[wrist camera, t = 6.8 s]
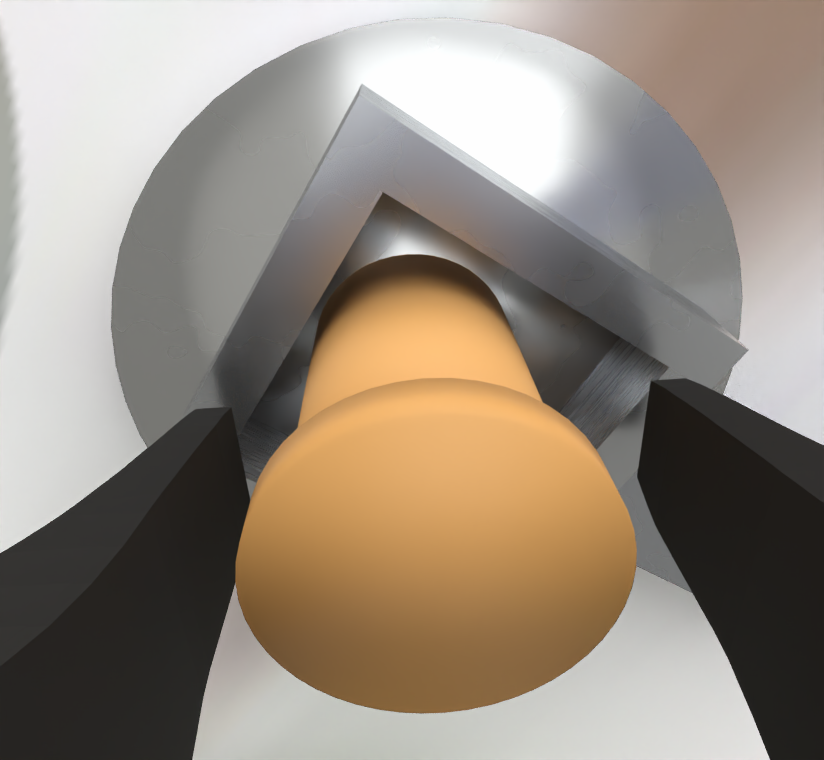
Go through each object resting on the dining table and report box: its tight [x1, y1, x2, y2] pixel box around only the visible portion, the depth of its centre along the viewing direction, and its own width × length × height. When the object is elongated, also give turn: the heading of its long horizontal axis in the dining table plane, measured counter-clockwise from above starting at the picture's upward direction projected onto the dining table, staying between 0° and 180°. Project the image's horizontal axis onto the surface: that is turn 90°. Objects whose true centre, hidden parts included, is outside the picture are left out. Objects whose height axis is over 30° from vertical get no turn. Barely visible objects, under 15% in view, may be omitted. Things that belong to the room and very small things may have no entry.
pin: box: [235, 254, 637, 713], centre depth 11 cm, size 5×5×7 cm
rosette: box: [111, 18, 748, 592], centre depth 14 cm, size 20×13×3 cm, turn 58°
